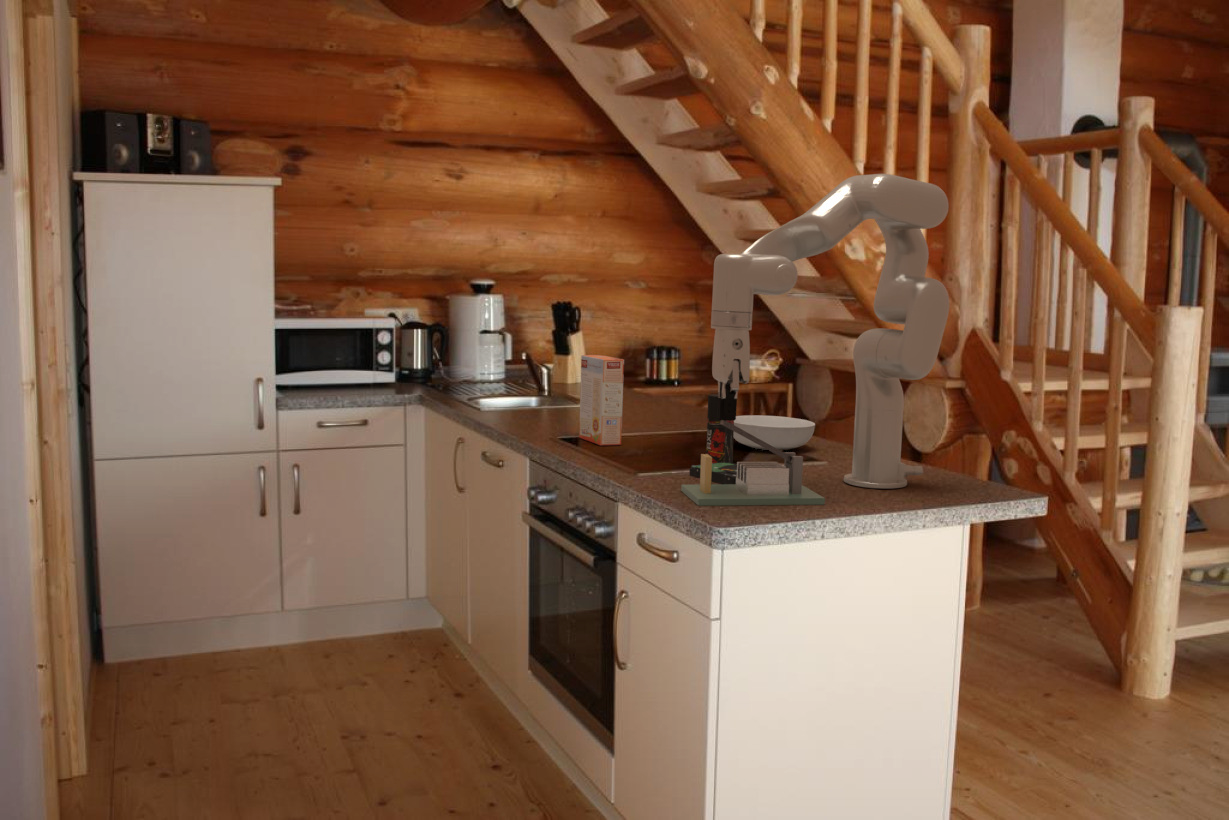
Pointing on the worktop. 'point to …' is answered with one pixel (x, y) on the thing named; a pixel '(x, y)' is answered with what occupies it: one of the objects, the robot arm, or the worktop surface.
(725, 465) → the disk drive
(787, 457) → the strap
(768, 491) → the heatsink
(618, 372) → the cracker box
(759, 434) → the serving bowl
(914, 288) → the robot arm
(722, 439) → the deodorant
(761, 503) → the board
